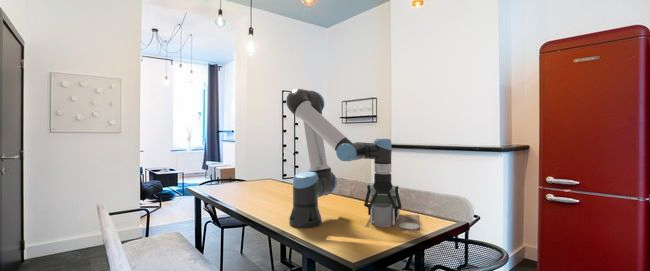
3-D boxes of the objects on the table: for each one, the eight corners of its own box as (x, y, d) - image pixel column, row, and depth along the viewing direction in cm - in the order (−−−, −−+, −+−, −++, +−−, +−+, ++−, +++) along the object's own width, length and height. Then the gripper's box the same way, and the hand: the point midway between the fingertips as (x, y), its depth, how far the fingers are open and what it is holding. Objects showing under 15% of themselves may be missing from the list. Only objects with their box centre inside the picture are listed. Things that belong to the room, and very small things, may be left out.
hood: (370, 218, 152) (370, 187, 151) (373, 212, 164) (373, 183, 163) (398, 220, 148) (398, 188, 148) (399, 214, 160) (399, 184, 160)
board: (365, 230, 139) (365, 226, 139) (372, 215, 164) (372, 212, 164) (420, 234, 133) (420, 231, 133) (419, 218, 158) (419, 215, 158)
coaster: (398, 228, 137) (398, 227, 137) (399, 222, 145) (399, 221, 145) (419, 230, 135) (419, 229, 135) (419, 224, 143) (419, 223, 143)
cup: (392, 231, 138) (392, 208, 138) (372, 229, 140) (372, 207, 140) (392, 225, 146) (392, 203, 146) (373, 224, 148) (373, 202, 148)
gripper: (357, 173, 142) (357, 223, 142) (407, 175, 136) (407, 227, 136) (360, 171, 149) (359, 219, 150) (408, 172, 143) (407, 222, 144)
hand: (382, 223), depth 143 cm, fingers open, 9 cm apart
